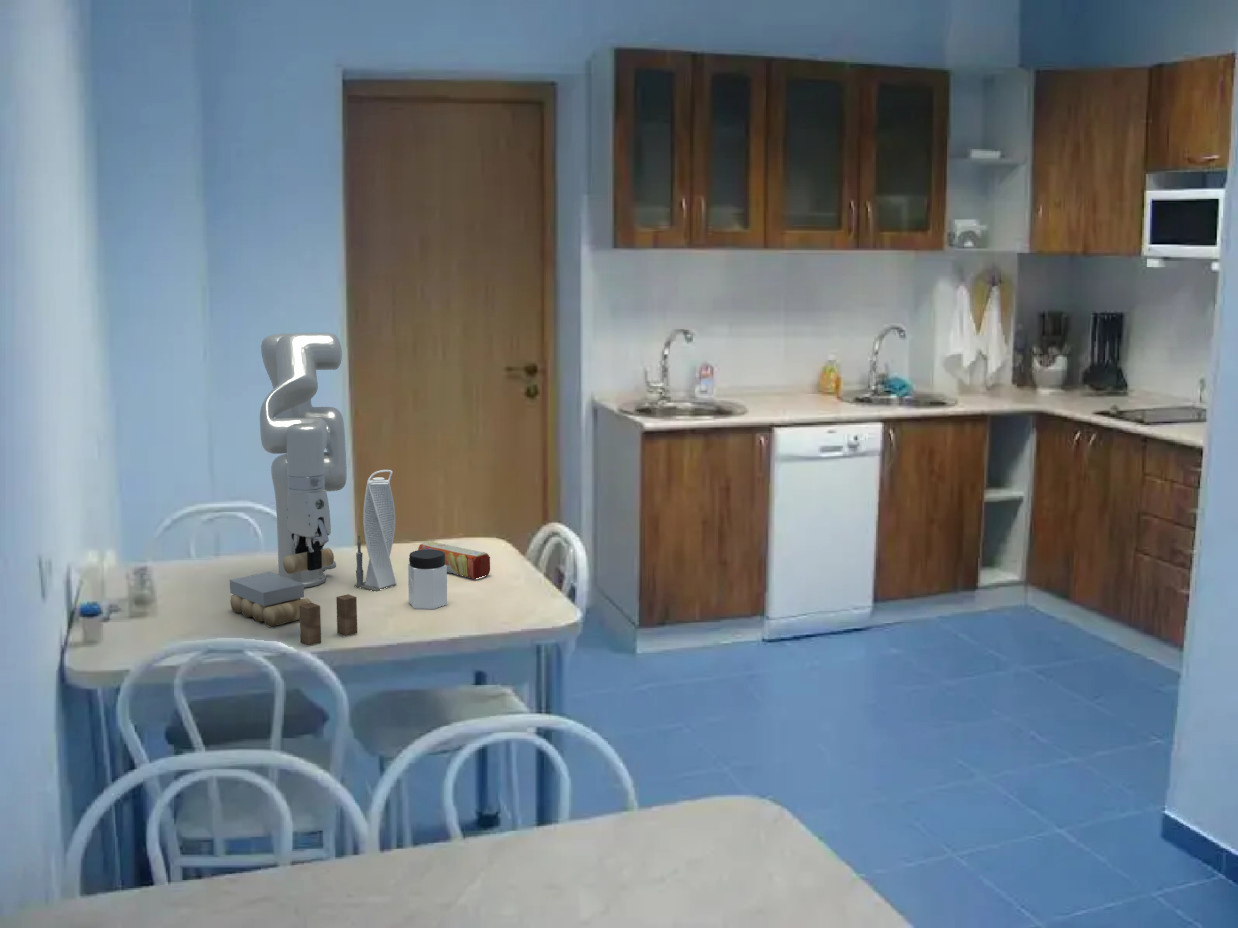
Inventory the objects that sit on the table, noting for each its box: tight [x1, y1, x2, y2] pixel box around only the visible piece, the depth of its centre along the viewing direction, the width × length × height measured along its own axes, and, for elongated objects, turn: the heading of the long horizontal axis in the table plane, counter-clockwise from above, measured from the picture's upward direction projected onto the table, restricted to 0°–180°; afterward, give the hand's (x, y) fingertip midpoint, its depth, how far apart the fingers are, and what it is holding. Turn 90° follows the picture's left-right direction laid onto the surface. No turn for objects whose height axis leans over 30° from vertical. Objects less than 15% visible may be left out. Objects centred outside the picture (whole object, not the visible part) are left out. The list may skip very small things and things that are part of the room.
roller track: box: [229, 594, 313, 628], centre depth 280 cm, size 10×18×4 cm, turn 47°
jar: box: [407, 549, 448, 610], centre depth 290 cm, size 9×8×12 cm
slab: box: [229, 571, 305, 606], centre depth 281 cm, size 10×14×3 cm
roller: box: [283, 547, 335, 574], centre depth 268 cm, size 10×4×4 cm, turn 137°
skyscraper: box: [354, 469, 397, 592], centre depth 302 cm, size 8×8×28 cm
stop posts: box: [299, 593, 358, 647], centre depth 265 cm, size 12×3×8 cm, turn 137°
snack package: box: [417, 540, 491, 580], centre depth 318 cm, size 21×7×7 cm, turn 50°
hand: (308, 566), depth 268 cm, fingers closed on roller, 3 cm apart
